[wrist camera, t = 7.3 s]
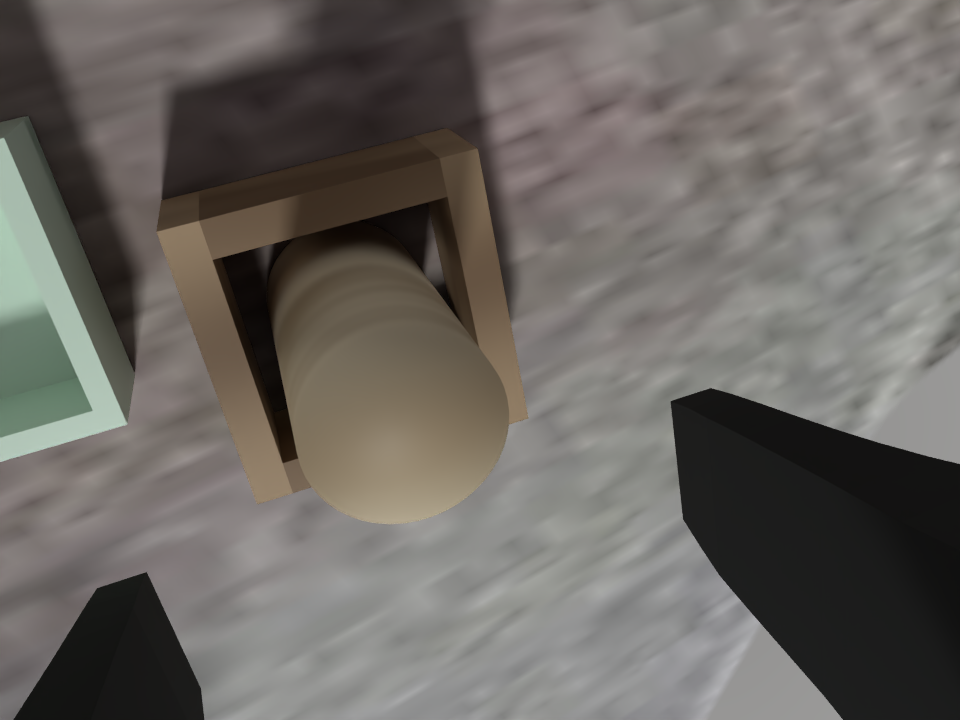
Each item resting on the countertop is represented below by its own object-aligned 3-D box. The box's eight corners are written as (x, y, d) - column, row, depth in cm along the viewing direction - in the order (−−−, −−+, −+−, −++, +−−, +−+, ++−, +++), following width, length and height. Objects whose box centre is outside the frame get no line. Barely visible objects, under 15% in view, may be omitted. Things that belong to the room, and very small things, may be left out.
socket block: (497, 374, 23) (528, 418, 21) (251, 449, 22) (257, 504, 20) (447, 127, 20) (477, 148, 18) (161, 200, 19) (156, 231, 17)
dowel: (434, 341, 22) (526, 485, 16) (292, 384, 21) (329, 551, 15) (400, 202, 20) (487, 301, 14) (246, 244, 20) (266, 368, 14)
